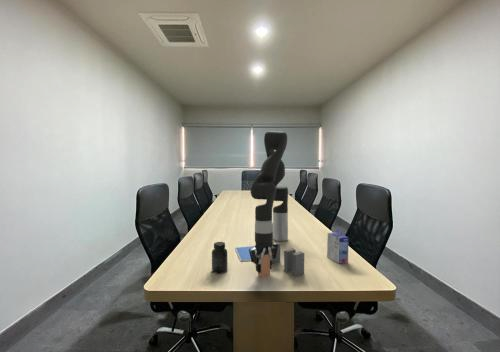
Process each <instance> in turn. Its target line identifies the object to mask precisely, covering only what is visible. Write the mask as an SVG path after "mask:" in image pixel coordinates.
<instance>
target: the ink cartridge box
mask: <svg viewBox="0 0 500 352" xmlns="http://www.w3.org/2000/svg"><path fill="white" fill-rule="evenodd" d="M326 240H327V241H326V242H327V243H326V244H327V246H326V247H327V249H326V257H328V259H331V260H332V261H334V262H336V263H337V264H348V263H349V237H348V236H346V235H343V230H342V229H339V228H338V229H337V230H336V232H327V239H326Z"/></svg>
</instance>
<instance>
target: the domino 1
mask: <svg viewBox="0 0 500 352" xmlns="http://www.w3.org/2000/svg"><path fill="white" fill-rule="evenodd" d="M258 256H260V255H259V254H258ZM258 260H259V258H258ZM270 275H271V269H270V257H269V253H268V254H267V255H264V256H263V259H262V260H261V273H258V272H257V277H260V278H263V277H266V276H267V277H268V276H270Z"/></svg>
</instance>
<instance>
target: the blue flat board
mask: <svg viewBox="0 0 500 352" xmlns="http://www.w3.org/2000/svg"><path fill="white" fill-rule="evenodd" d="M253 248H255V245H254V246H241V247H239V246H238V247H235V248H234V250H235V253H236V254H237V257H238V259H239V261H240V262H242V263H243V262H244V261H245V262H251V257H250V253H249V249H253ZM256 252H257V251H256Z"/></svg>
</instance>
